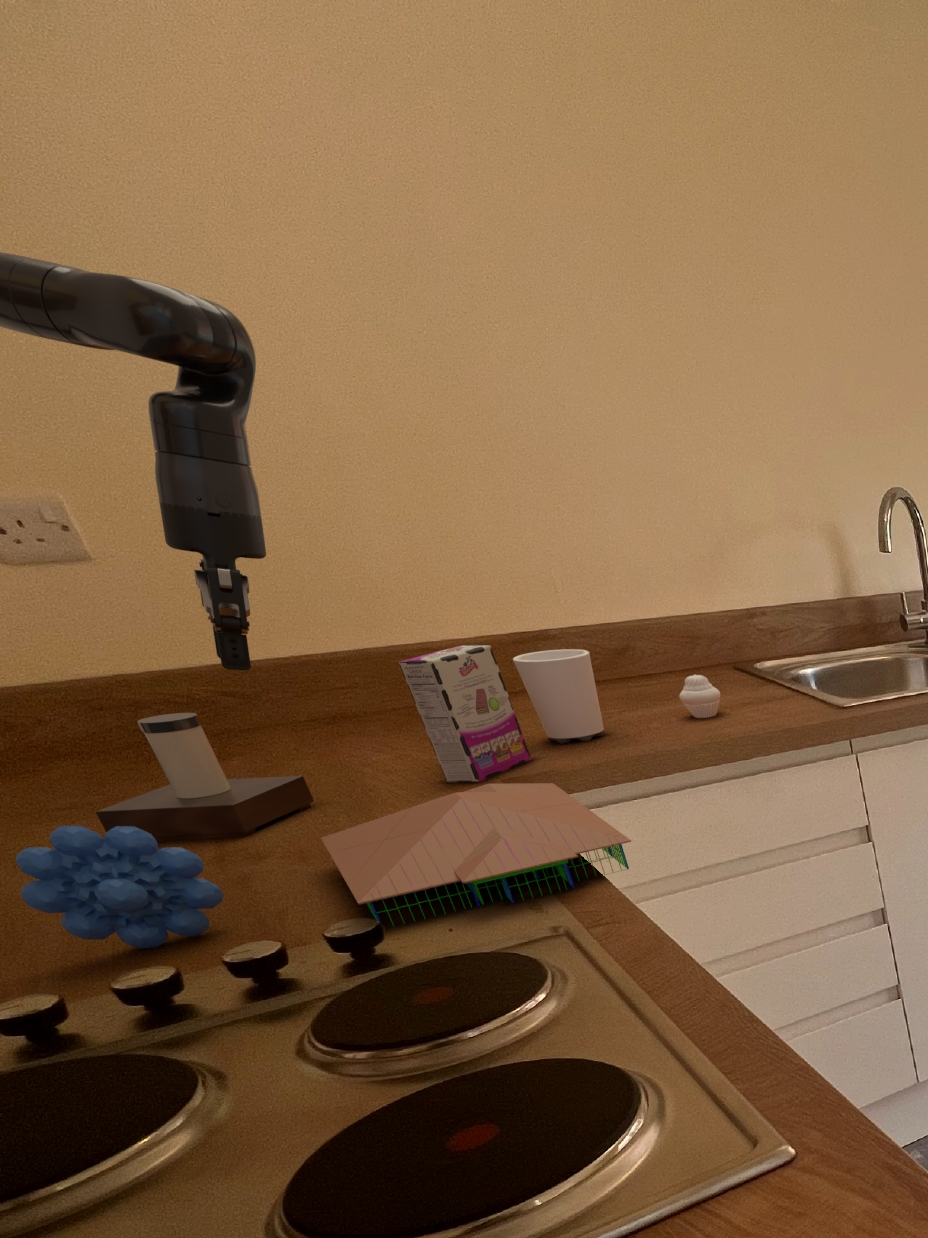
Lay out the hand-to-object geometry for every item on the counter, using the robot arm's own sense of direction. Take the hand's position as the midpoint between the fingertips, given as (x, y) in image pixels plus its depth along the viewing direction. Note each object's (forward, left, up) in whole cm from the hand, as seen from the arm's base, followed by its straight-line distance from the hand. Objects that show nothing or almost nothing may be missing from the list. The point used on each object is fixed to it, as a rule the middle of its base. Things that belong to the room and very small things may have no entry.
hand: (234, 664), depth 113 cm
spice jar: (-14, +6, -16) cm, 22 cm away
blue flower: (+7, -33, -20) cm, 39 cm away
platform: (-14, +6, -20) cm, 25 cm away
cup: (+11, +43, -20) cm, 49 cm away
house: (+26, -15, -20) cm, 36 cm away
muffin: (+26, +55, -20) cm, 64 cm away
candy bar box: (+7, +25, -20) cm, 33 cm away
